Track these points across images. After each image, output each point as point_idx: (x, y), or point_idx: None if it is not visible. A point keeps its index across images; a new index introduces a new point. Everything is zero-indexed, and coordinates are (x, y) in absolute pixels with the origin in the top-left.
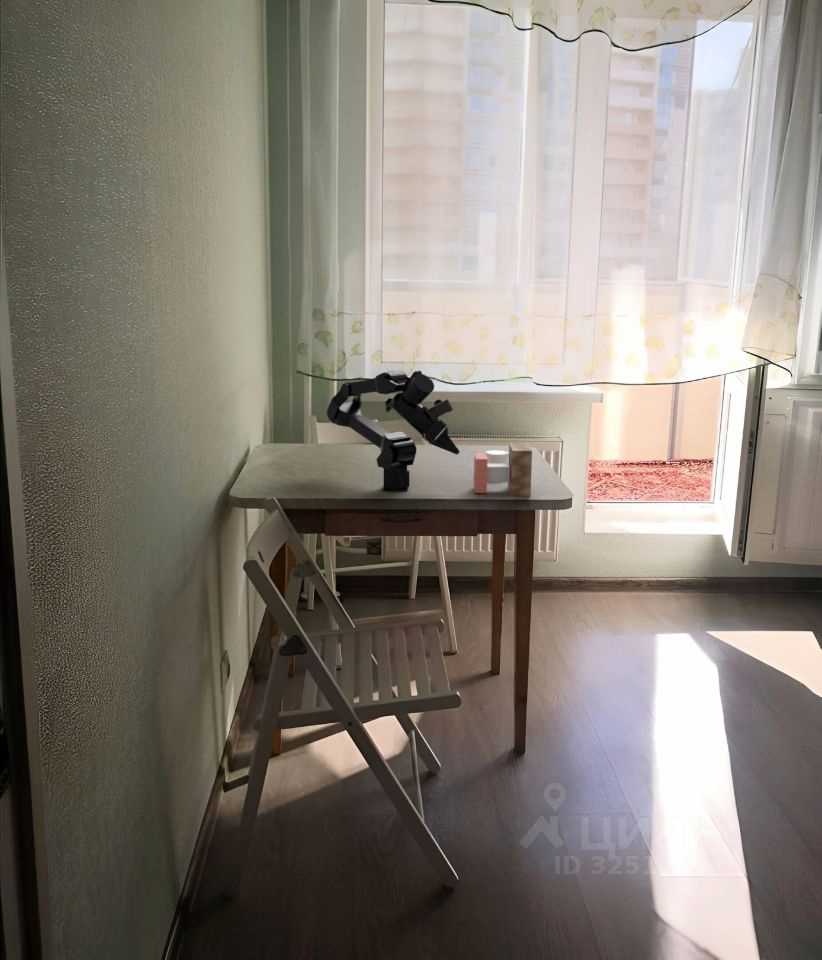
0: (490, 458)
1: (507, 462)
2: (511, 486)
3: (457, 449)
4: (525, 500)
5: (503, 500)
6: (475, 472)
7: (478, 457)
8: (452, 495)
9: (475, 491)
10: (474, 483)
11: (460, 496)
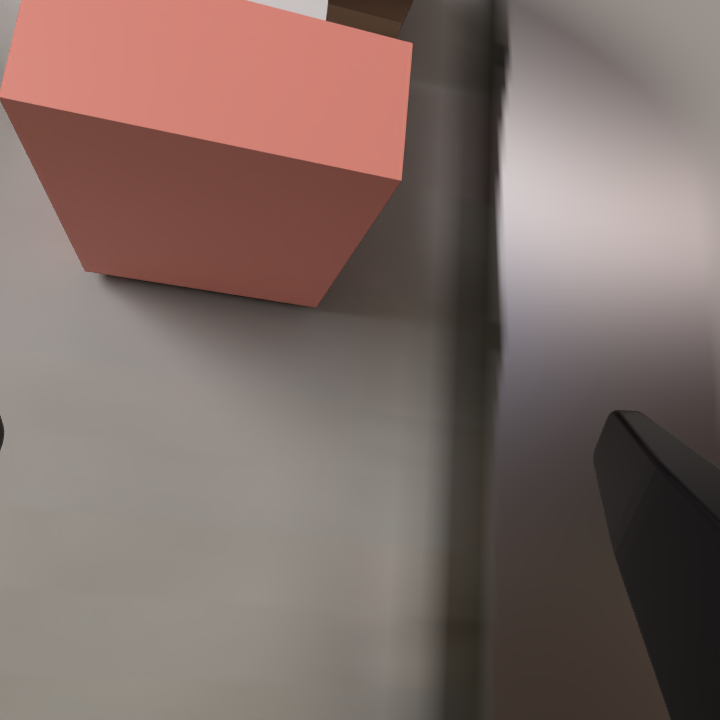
0: None
1: None
2: (395, 24)
3: (676, 449)
4: (492, 26)
5: (489, 157)
6: (342, 246)
7: (303, 120)
8: (332, 499)
9: (317, 302)
10: (190, 272)
11: (368, 437)
